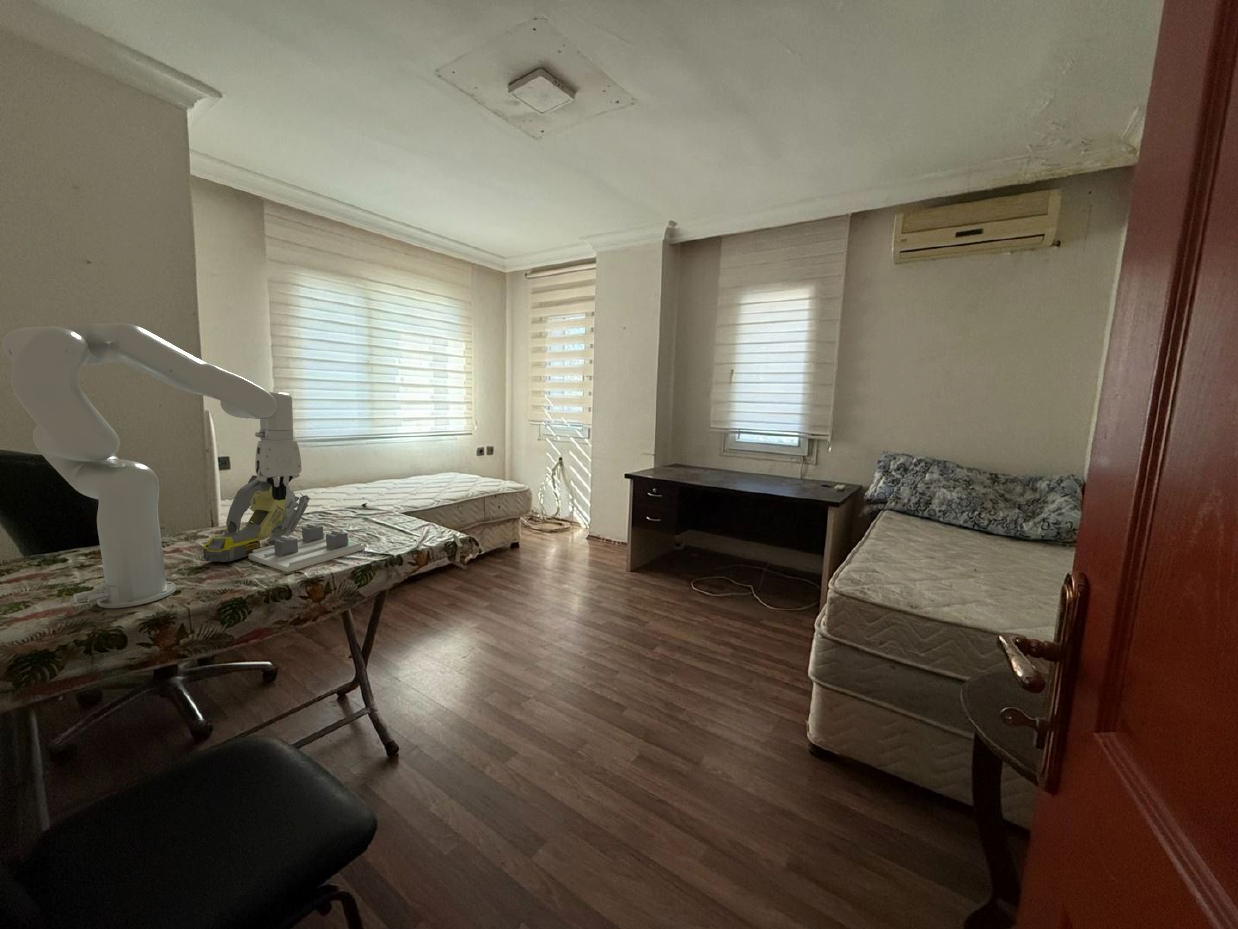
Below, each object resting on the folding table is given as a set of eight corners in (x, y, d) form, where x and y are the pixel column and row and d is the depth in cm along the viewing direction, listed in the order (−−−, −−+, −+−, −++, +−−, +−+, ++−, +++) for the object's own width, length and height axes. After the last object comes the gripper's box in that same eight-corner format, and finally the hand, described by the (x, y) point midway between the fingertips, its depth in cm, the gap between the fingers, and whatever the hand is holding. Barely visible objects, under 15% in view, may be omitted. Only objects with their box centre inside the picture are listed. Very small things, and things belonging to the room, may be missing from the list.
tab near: (335, 551, 136) (334, 533, 136) (326, 548, 138) (325, 531, 137) (348, 547, 140) (347, 530, 139) (339, 544, 142) (338, 528, 141)
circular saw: (318, 504, 159) (271, 461, 139) (273, 588, 142) (213, 553, 122) (290, 502, 160) (239, 460, 140) (242, 586, 143) (176, 551, 123)
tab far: (310, 543, 142) (309, 527, 141) (302, 541, 143) (301, 525, 143) (323, 540, 145) (322, 524, 144) (316, 538, 147) (314, 522, 146)
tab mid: (283, 558, 129) (281, 539, 129) (274, 555, 131) (273, 537, 130) (298, 554, 133) (297, 536, 132) (290, 551, 135) (288, 533, 134)
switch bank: (287, 572, 124) (286, 564, 123) (248, 558, 132) (248, 551, 132) (364, 549, 143) (364, 542, 143) (326, 538, 152) (326, 531, 151)
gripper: (254, 437, 124) (257, 505, 126) (312, 436, 137) (314, 497, 139) (239, 435, 127) (242, 501, 129) (297, 434, 141) (299, 494, 143)
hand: (279, 499), depth 134 cm, fingers closed
